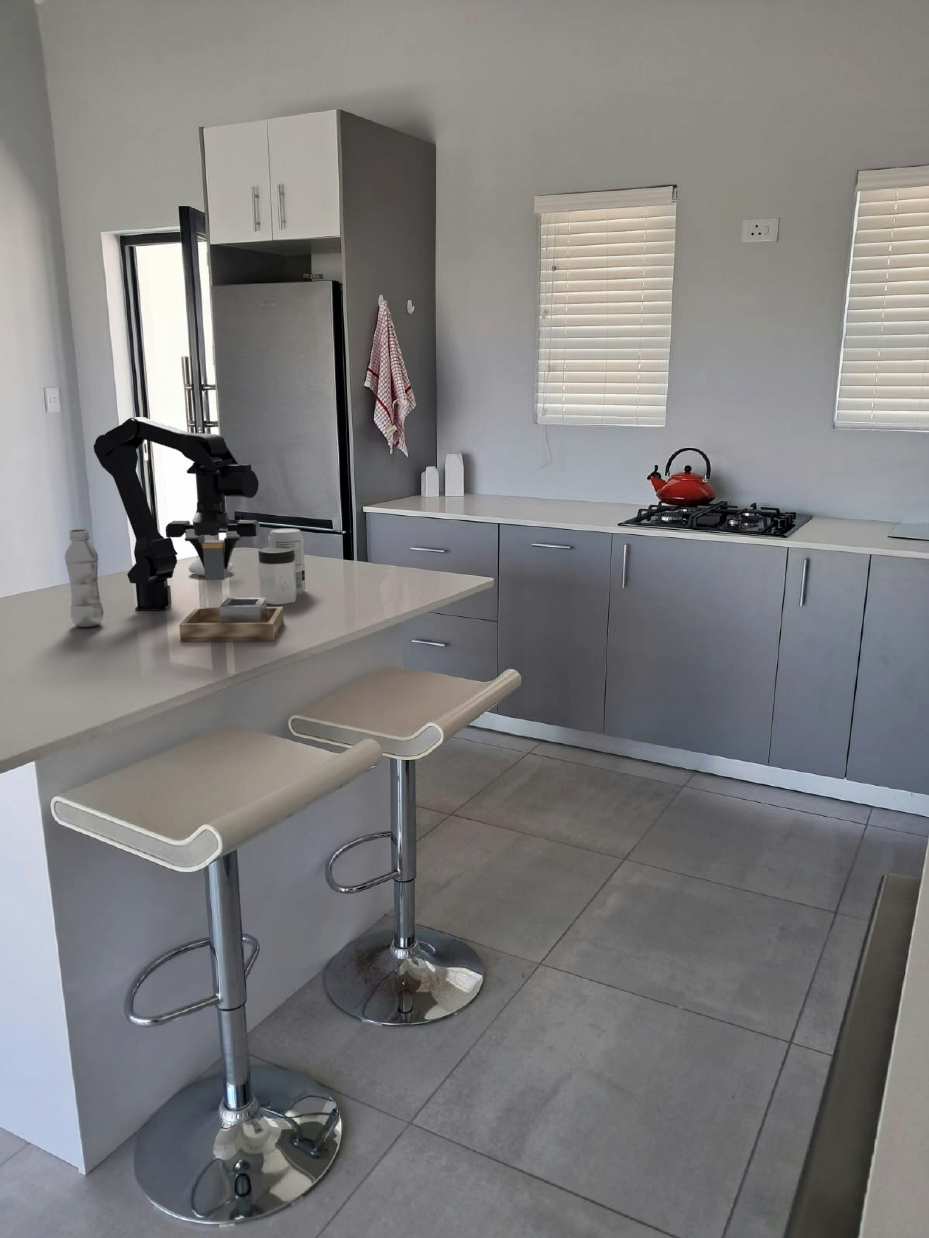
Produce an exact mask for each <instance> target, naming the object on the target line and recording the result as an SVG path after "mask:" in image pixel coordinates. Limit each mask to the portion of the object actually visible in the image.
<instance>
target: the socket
mask: <svg viewBox="0 0 929 1238" xmlns="http://www.w3.org/2000/svg"><path fill="white" fill-rule="evenodd" d="M267 607H268V605H267V602H266V598H260V597H226V599H224V601H222V603H221V604H220V605H219V613H220V623H267Z"/></svg>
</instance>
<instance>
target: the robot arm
mask: <svg viewBox="0 0 929 1238" xmlns="http://www.w3.org/2000/svg"><path fill="white" fill-rule="evenodd" d="M145 440H146V441H149V442H151V443H154V444H158V445H161V446H164V447H167V448H169V449H173V450H176V451H177V452H179V453H181V454H182V455H183V457H185V458H187V459H188V460H190V461H191V462H193V463H192V465H191V466H190V467H189V468H188V469H186V473H187V474H191V475H195V484H196V486H195V487H196V498H197V502H196V511H195V514H194V516H193V519H192V524H191V522H190V520H172V521H171V522H168V523H167V525H166V526H165V537H164V536H163V535H162V534H161V533H160V532H159V530H158V527H157V525H156V522H155V519H154V516H153V514H152V512H151V508H150V505H149V502H148V500H147V497H146V495H145V492H144V489H143V487H142V484H141V481H140V478H139V475H138V473H137V468H138V460H139V454H138V452H137V451H138V449H139V448H140V447H142V446H143V444H144V443H145ZM93 453H94V454H95V456H96V458H97V460H98V461H99V464H100V465H101V467H102V468H103V469H104V470H105V471H106V472H107V473H108V474H109V475H111V477H112V478H113V481H114V484H115V486H116V488H117V491H118V495H119V497H120V500H121V502H122V504H123V507H124V508H123V509H124V510H125V512H126V515H127V519H128V521H129V524H130V526H131V529H132V532H133V535H134V537H135V544H134V545H135V546H134V551H133V555H134V560H135V563H134V565H133V566H132V567H131V568H130V570H129V571H128V573H127V578H128V580H129V583H130V584H135V594H136V604H137V606H136V607H134V609H135V611H165V610H166V609H168V607H170V606H171V605H172V591H171V585H169V584H168V579H172V578H173V575H174V572H175V571H174V570H175V569H176V566H177V564H178V558H177V555H179V554H178V552H177V551H176V549H175V547H174V542H173V540H172V539H173V538H181V537H182V536H184V535H185V538H184V541H185V542H189V543H190V544H191V545H192V546H193V548H194V549H195V551H196V553H197V556H198V557H199V558H200V560H201V562H202V565H203V567H204V555H203V545H202V543H203V542H205V538H204V535H210V536H217V535H219V534H226V537H224V538H223V540H224V542H225V558H224V563H225V569H227V568H228V565H229V562H230V561H231V558H232V554H233V551H234V549H235V546H236V544H237V541H240V540H241V539H242V538H251V537H254V538H255V537H257V536H258V535H259V534H260V533H261V526H260V525H261V524H260V522H259V521H258V520H257V519H243V520H242V519H241V520H239V521H238V522H236V523H230V520H229V514H228V511H227V505H226V504H227V499H226V497H228V498H242V499H243V498H245V499H252V498H254V497H255V496H256V495H257V493H258V490H259V483H260V482H259V479H258V477H257V474H256V473H255V472H254V470H252V465H251V464H248V463H247V464H246V463H245V464H244V463H243V464H239V463H238V461H237V460H236V458H235V456H234V455H233V454H232V452H231V450H230V449H229V447H228V446H227V443H226V441H225V438H224V437H223V436H222V435H219V434H215V433H206V432H205V433H204V432H203V433H202V432H189V431H186V430H183V429H179V428H176V427H173V426H170V425H166V424H165V423H160V422H157V421H155V420H151V419H149V418H147V417H144V416H138V417H129V418H128V419H126V420H125V421H124V422H122V423H121V424H120V425H118V426H116V427H114V428H112V429H110V430H108V431H107V432H105V433H103V434H101V435H99V436H97V437H96V439H95V441H94V444H93ZM230 563H231V562H230Z"/></svg>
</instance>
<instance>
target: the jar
mask: <svg viewBox="0 0 929 1238" xmlns="http://www.w3.org/2000/svg"><path fill="white" fill-rule="evenodd" d="M257 553H258V563H257V566H258V567H257V568H258V582H259V598H266V602H267V604H268V605H275V606H277V605H283V604H285V605H286V604H291V603H292V604H293V603H295V601H296V600H297V595H298V594H297V592H296V568H295V554H294V549H293V548H289V547H269V546H267V547H264V548H260V549H259V550H258V551H257Z"/></svg>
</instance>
